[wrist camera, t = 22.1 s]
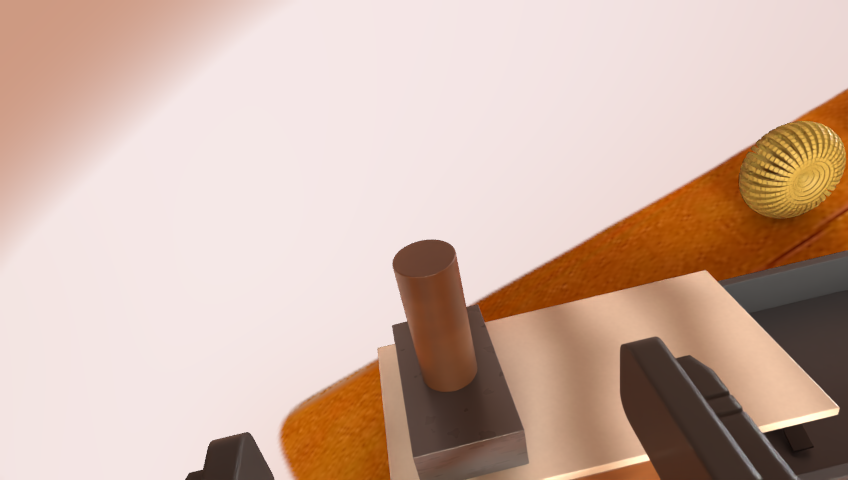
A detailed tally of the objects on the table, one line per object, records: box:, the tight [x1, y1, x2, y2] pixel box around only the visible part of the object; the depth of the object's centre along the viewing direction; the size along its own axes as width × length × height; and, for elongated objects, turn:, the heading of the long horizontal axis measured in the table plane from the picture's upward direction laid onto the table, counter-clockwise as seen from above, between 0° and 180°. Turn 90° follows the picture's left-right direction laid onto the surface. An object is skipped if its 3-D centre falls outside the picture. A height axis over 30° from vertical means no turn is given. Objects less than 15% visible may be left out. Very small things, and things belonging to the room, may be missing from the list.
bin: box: [717, 250, 848, 480], centre depth 33 cm, size 17×14×3 cm
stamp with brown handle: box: [392, 240, 529, 480], centre depth 28 cm, size 5×9×9 cm, turn 9°
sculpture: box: [739, 121, 846, 218], centre depth 46 cm, size 8×4×8 cm, turn 101°
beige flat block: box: [378, 270, 840, 480], centre depth 32 cm, size 20×11×6 cm, turn 98°
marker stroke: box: [781, 423, 814, 452], centre depth 31 cm, size 1×4×1 cm, turn 4°
